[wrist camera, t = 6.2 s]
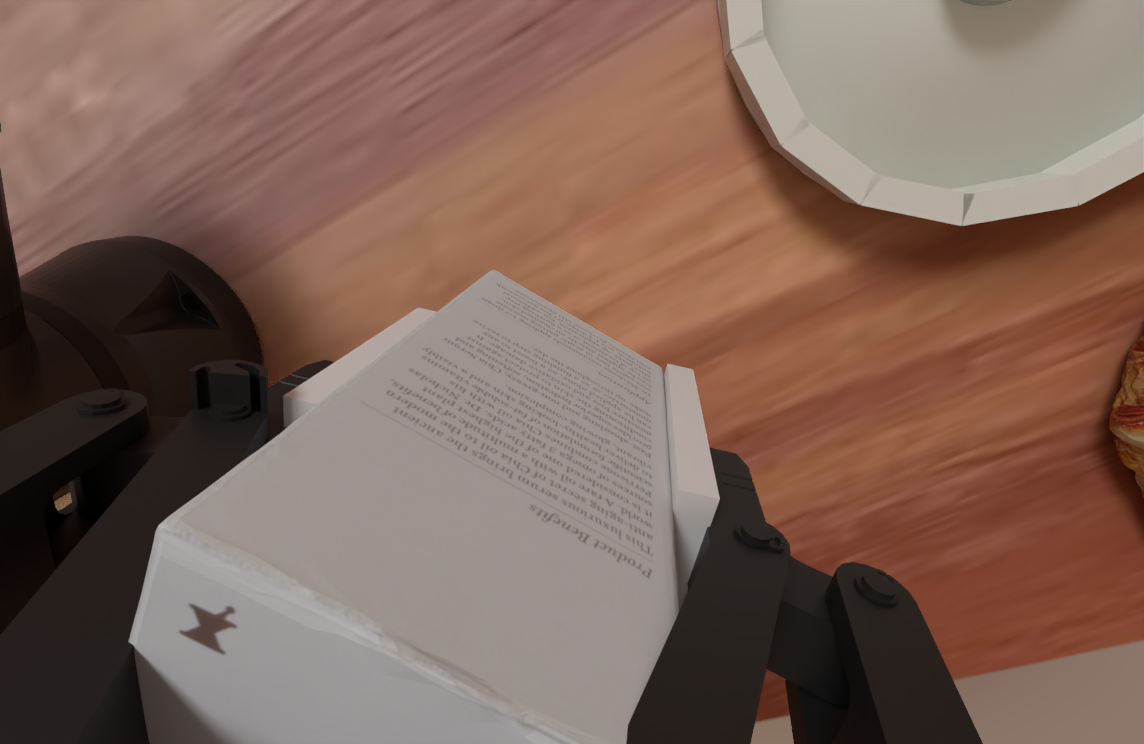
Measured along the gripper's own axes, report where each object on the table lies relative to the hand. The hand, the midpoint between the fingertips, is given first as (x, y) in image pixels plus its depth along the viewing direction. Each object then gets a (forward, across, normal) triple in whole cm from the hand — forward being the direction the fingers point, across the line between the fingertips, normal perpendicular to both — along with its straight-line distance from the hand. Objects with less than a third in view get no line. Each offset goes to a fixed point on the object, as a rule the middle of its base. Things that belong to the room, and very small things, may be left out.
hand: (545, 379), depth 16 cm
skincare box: (+1, 0, 0) cm, 1 cm away
